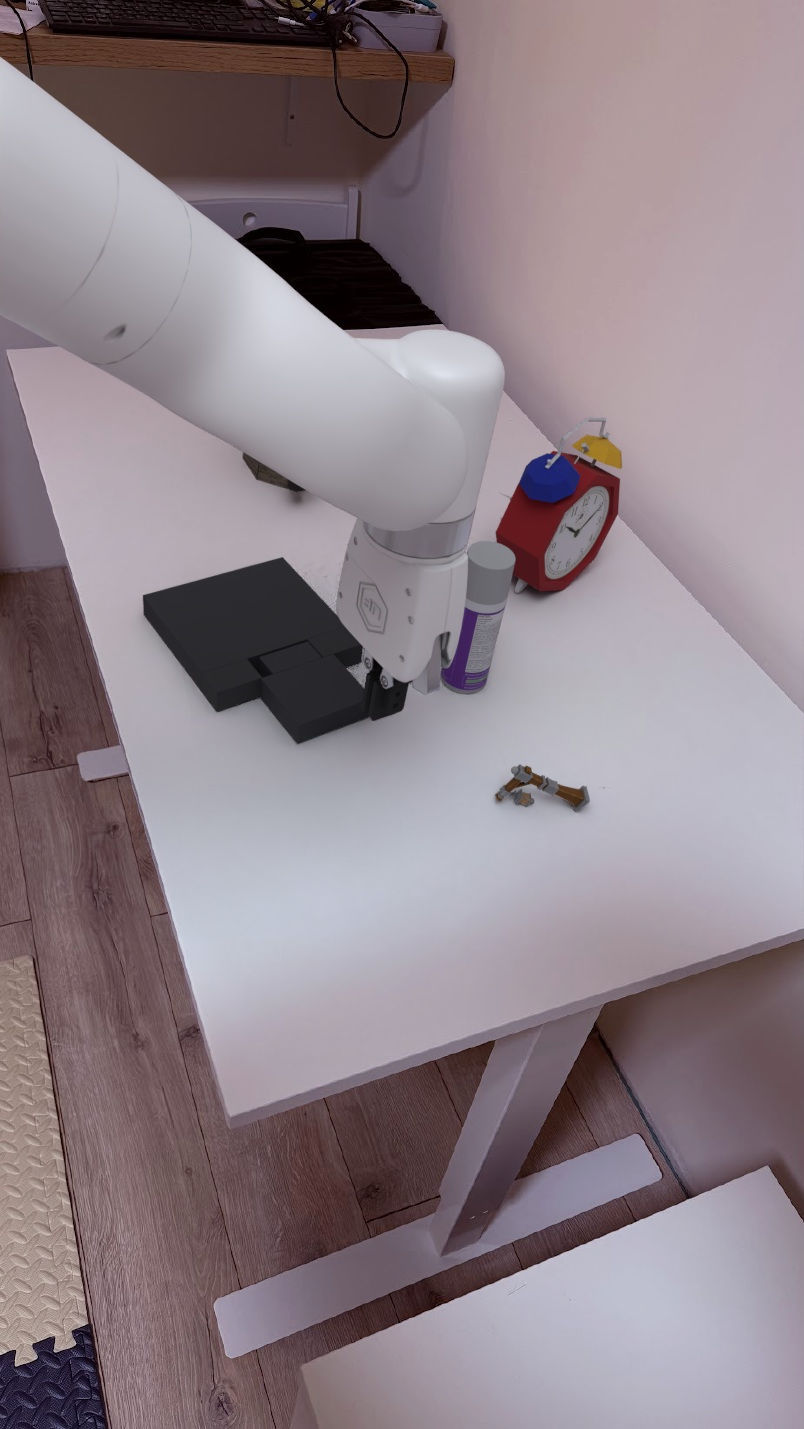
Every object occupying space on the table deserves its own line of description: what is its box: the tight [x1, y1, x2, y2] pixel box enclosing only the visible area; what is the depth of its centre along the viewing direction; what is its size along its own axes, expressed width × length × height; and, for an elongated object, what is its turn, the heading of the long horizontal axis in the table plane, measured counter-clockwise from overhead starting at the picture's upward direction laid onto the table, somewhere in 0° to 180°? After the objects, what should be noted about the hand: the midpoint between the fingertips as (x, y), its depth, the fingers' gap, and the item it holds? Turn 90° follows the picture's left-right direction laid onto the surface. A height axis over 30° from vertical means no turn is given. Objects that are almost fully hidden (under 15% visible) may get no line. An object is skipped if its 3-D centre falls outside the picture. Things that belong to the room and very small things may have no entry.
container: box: [440, 540, 515, 695], centre depth 97 cm, size 5×5×15 cm
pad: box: [258, 642, 369, 745], centre depth 96 cm, size 8×10×2 cm
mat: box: [142, 556, 364, 713], centre depth 101 cm, size 16×16×2 cm
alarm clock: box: [495, 417, 623, 594], centre depth 110 cm, size 15×9×20 cm, turn 136°
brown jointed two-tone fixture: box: [494, 763, 591, 813], centre depth 90 cm, size 2×8×4 cm, turn 94°
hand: (382, 710), depth 83 cm, fingers closed
